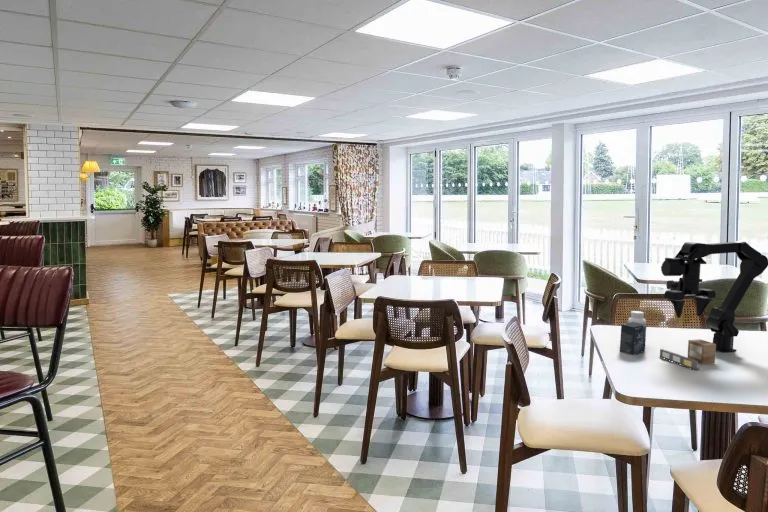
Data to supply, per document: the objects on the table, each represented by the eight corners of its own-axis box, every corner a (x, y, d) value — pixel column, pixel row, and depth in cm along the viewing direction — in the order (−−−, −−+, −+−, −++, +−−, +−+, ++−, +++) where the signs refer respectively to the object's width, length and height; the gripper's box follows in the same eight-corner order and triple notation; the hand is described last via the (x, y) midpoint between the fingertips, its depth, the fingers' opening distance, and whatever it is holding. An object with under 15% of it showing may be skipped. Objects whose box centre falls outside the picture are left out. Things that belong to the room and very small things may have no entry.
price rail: (659, 357, 206) (659, 349, 206) (665, 356, 207) (665, 348, 207) (694, 370, 191) (694, 361, 191) (700, 369, 192) (700, 360, 191)
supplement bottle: (644, 342, 227) (646, 311, 225) (646, 346, 221) (647, 314, 219) (626, 341, 229) (627, 309, 228) (627, 345, 223) (629, 313, 221)
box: (633, 354, 209) (634, 326, 208) (619, 351, 214) (620, 323, 213) (645, 351, 214) (646, 324, 212) (631, 348, 218) (633, 321, 217)
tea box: (714, 363, 199) (716, 344, 198) (702, 364, 198) (704, 345, 197) (698, 358, 206) (700, 339, 205) (687, 359, 204) (688, 340, 203)
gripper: (694, 272, 223) (691, 311, 224) (654, 273, 217) (652, 313, 219) (717, 276, 212) (715, 317, 214) (676, 277, 207) (674, 320, 208)
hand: (688, 316), depth 214 cm, fingers open, 9 cm apart
